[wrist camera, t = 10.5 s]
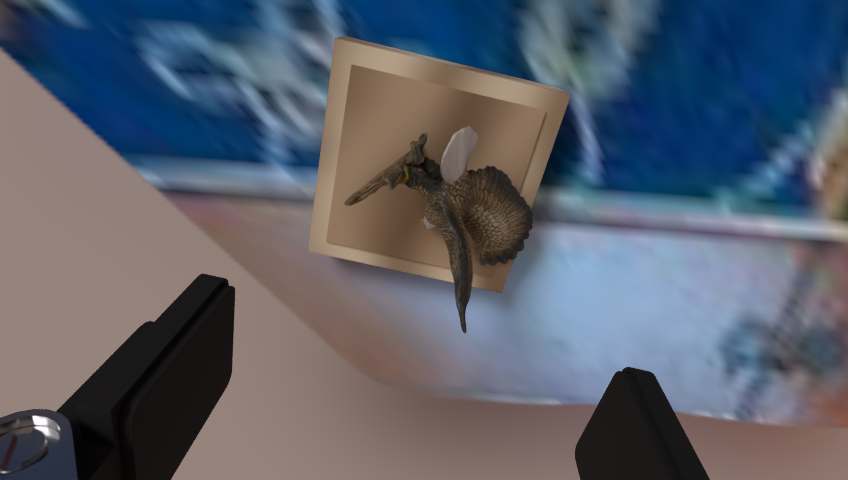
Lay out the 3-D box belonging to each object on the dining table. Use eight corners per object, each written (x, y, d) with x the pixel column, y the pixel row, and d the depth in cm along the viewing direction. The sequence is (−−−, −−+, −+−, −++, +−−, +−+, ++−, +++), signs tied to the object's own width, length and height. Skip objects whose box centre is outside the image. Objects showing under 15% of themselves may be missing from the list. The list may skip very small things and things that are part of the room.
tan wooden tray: (560, 88, 26) (571, 95, 23) (498, 272, 31) (502, 294, 28) (345, 36, 25) (334, 38, 23) (318, 233, 30) (307, 252, 28)
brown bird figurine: (335, 213, 25) (443, 333, 26) (349, 189, 18) (494, 353, 20) (434, 128, 27) (531, 243, 28) (480, 77, 20) (606, 232, 21)
